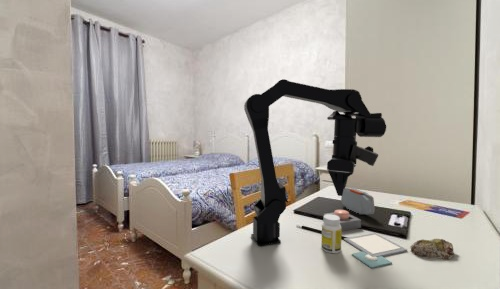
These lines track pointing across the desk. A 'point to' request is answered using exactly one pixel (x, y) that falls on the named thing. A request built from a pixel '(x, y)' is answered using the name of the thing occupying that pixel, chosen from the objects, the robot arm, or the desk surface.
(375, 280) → the desk surface
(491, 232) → the desk surface
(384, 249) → the sketch pad
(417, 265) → the desk surface
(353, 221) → the button housing
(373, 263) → the card
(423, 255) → the mineral rock
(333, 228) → the supplement bottle
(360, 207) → the grey rounded slab
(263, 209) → the robot arm
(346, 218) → the button
